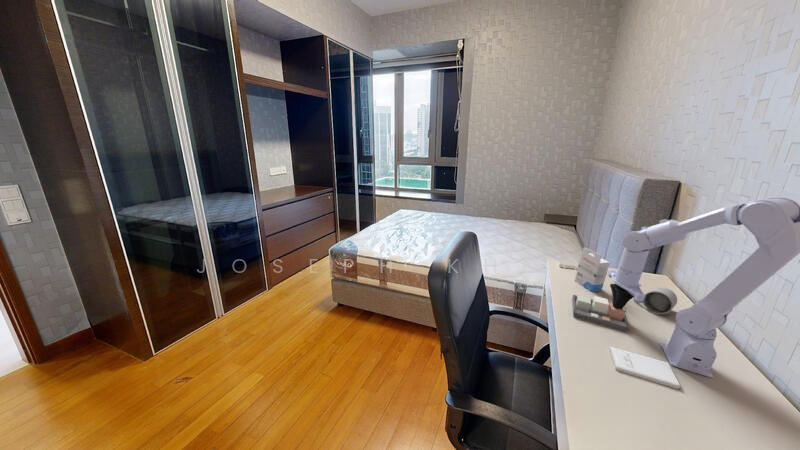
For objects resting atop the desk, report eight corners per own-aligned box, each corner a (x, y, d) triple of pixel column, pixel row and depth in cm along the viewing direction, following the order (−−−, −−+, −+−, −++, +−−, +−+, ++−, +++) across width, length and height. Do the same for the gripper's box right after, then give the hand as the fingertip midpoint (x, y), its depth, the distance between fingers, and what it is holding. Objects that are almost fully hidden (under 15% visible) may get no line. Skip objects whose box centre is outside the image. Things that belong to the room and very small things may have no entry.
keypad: (627, 331, 86) (628, 326, 86) (573, 316, 92) (574, 311, 92) (620, 311, 96) (622, 306, 96) (572, 298, 102) (573, 293, 102)
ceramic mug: (674, 310, 98) (682, 290, 96) (668, 319, 93) (675, 298, 91) (636, 296, 106) (642, 277, 104) (628, 303, 101) (635, 283, 99)
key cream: (606, 313, 91) (608, 304, 90) (592, 309, 93) (595, 301, 92) (604, 307, 94) (607, 299, 93) (591, 304, 96) (594, 295, 95)
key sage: (588, 312, 94) (591, 303, 93) (575, 308, 95) (578, 300, 94) (587, 306, 97) (590, 298, 96) (575, 303, 98) (577, 295, 97)
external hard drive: (678, 391, 68) (614, 371, 72) (665, 366, 75) (608, 350, 79) (680, 385, 67) (616, 366, 72) (667, 361, 74) (609, 345, 79)
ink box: (602, 290, 108) (613, 254, 104) (591, 291, 107) (602, 255, 103) (584, 279, 116) (593, 245, 111) (573, 280, 115) (582, 246, 110)
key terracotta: (622, 321, 90) (625, 312, 89) (608, 317, 91) (611, 308, 90) (620, 315, 93) (623, 306, 92) (607, 311, 94) (609, 303, 93)
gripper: (662, 282, 79) (646, 323, 84) (629, 259, 93) (617, 296, 98) (635, 280, 80) (620, 321, 85) (605, 257, 94) (595, 294, 98)
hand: (617, 307), depth 91 cm, fingers closed, pressing on key terracotta
